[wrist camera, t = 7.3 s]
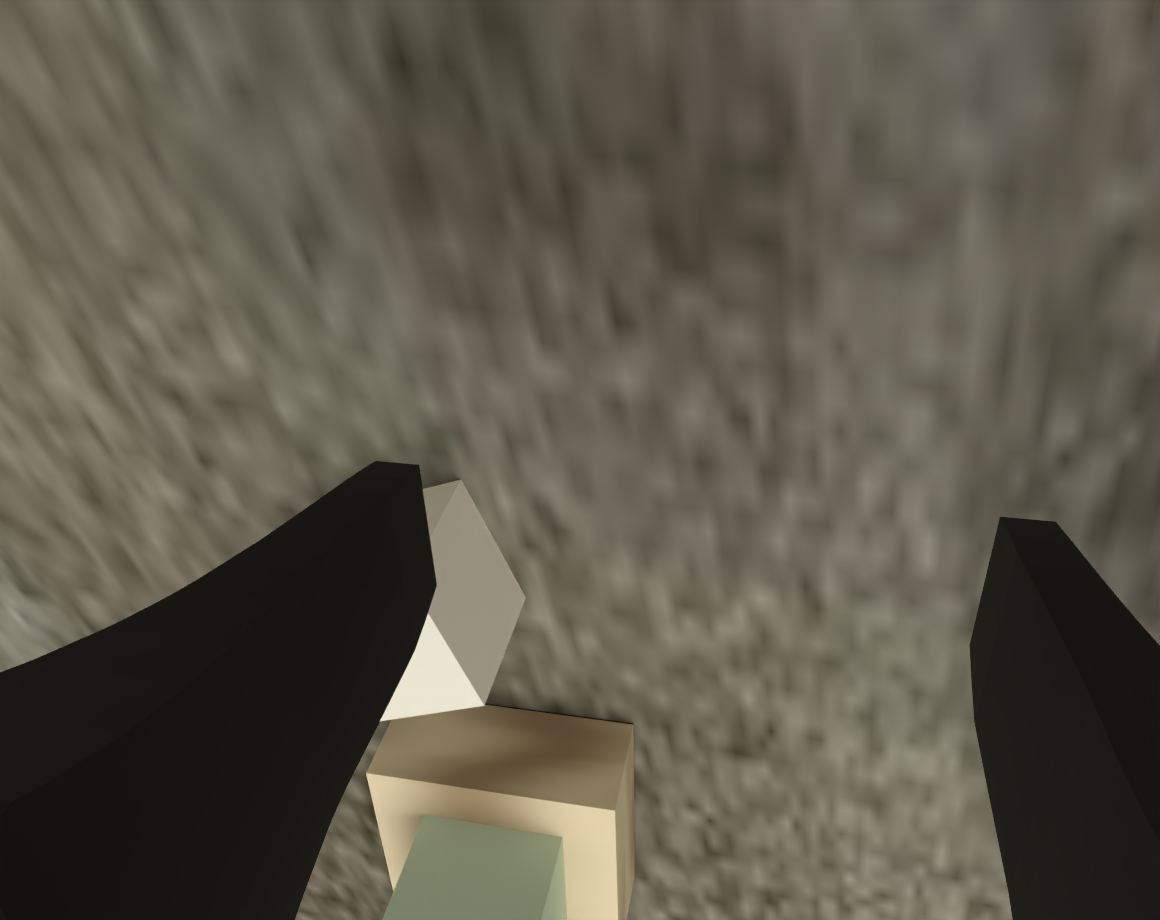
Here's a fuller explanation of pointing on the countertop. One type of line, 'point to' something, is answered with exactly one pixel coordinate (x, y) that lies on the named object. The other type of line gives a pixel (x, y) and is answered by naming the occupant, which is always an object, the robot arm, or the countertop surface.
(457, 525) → the ivory block
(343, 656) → the robot arm
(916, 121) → the countertop surface
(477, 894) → the sage block
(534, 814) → the maple block
